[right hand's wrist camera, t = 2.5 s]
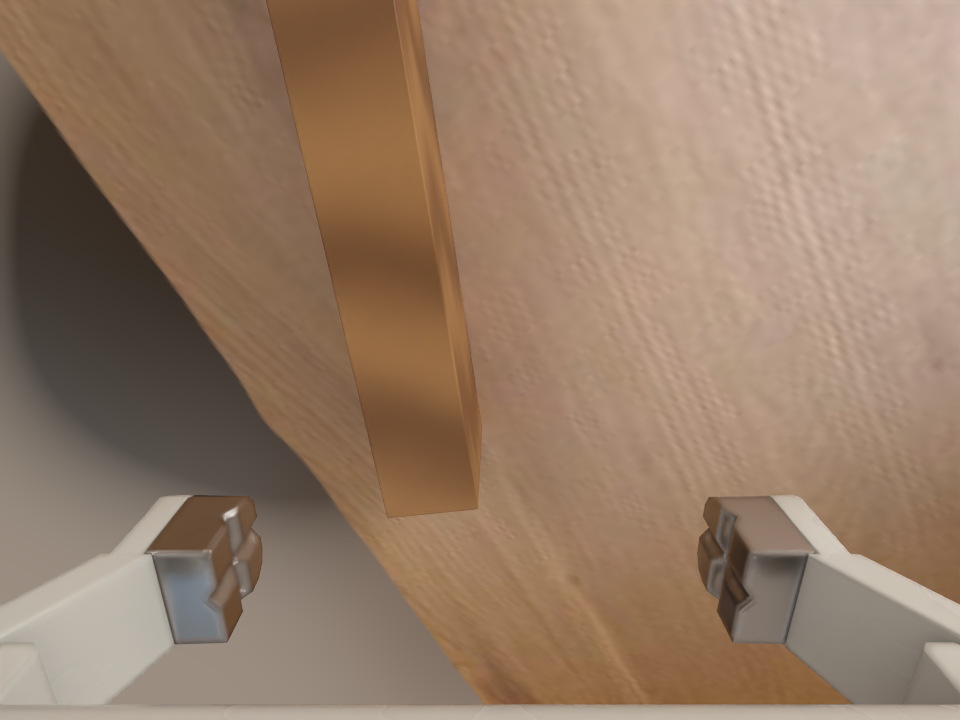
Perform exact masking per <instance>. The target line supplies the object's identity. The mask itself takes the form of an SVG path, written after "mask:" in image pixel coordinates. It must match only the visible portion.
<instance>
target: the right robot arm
mask: <svg viewBox="0 0 960 720" xmlns="http://www.w3.org/2000/svg"><path fill="white" fill-rule="evenodd" d="M256 517H257V514H256V509H255V504H254V501H253V500H252V499H251V498H250V497H249V496H208V495H194V496H192V495H166V496H163V497H160V498H159V499H158V500H157V501H156V502H155V503H154V504H153V506H152V507H151V508H150V509H149V510H148V511H147V512H146V513H145V515H144V516H143V517H142V518H141V519H140V520H139V521H138V522H137V524H136V525H135V526H134V527H133V528H132V529H131V530H130V532H129V533H128V534H127V535H126V536H125V537H124V538H123V539H122V541H121V542H120V543H119V544H118V545H117V546H116V547H115V548H114V550H113V551H112V552H111V553H110V554H100V555H98V556H96V557H94V558H92V559H90V560H88V561H86V562H84V563H82V564H80V565H78V566H76V567H74V568H72V569H70V570H68V571H66V572H64V573H62V574H60V575H58V576H56V577H54V578H52V579H50V580H48V581H46V582H44V583H42V584H40V585H38V586H36V587H34V588H32V589H30V590H28V591H26V592H24V593H22V594H20V595H18V596H16V597H14V598H12V599H10V600H8V601H6V602H5V603H2V604H1V605H0V720H960V605H959V604H957V603H955V602H953V601H951V600H949V599H947V598H945V597H943V596H941V595H939V594H937V593H935V592H934V591H932V590H930V589H928V588H926V587H924V586H922V585H920V584H918V583H916V582H914V581H912V580H910V579H908V578H906V577H904V576H902V575H900V574H898V573H896V572H894V571H892V570H890V569H888V568H886V567H884V566H882V565H880V564H878V563H876V562H874V561H872V560H870V559H868V558H866V557H864V556H862V555H860V554H850V553H849V552H848V551H847V550H846V549H845V547H844V546H843V545H842V544H841V543H840V542H839V541H838V539H837V538H836V537H835V536H834V535H833V534H832V533H831V532H830V530H829V529H828V528H827V527H826V526H825V525H824V524H823V523H822V521H821V520H820V519H819V518H818V517H817V516H816V515H815V513H814V512H813V511H812V510H811V509H810V508H809V507H808V506H807V504H806V503H805V502H804V501H803V500H802V499H801V498H800V497H798V496H795V495H770V496H749V497H709V498H708V500H707V502H706V504H705V508H704V513H703V517H704V519H705V521H706V523H707V525H708V526H709V528H708V529H707V530H706V531H705V532H704V533H703V534H702V535H701V536H700V537H699V544H698V552H697V554H698V566H699V571H700V575H701V578H702V581H703V583H704V585H705V588H706V590H707V592H709V593H710V594H712V595H713V596H715V597H716V598H717V599H719V604H718V609H717V612H718V614H719V616H720V618H721V620H722V622H723V624H724V626H725V628H726V630H727V632H728V634H729V636H730V638H731V640H732V642H733V643H758V644H785V647H786V648H787V649H788V650H789V651H791V652H792V653H793V654H794V655H795V656H797V657H798V658H799V659H800V660H801V661H802V662H804V663H805V664H806V665H807V666H808V667H810V668H811V669H812V670H813V671H814V672H816V673H817V674H818V675H819V676H820V677H821V678H823V679H824V680H825V681H826V682H827V683H829V684H830V685H831V686H832V687H833V688H834V689H836V690H837V691H838V692H839V693H840V694H842V695H843V696H844V697H845V698H846V699H847V700H849V701H850V702H851V703H852V704H831V705H627V704H505V705H107V704H108V703H109V702H110V701H111V700H113V699H114V698H115V697H116V696H117V695H119V694H120V693H121V692H122V691H123V690H124V689H126V688H127V687H128V686H129V685H130V684H132V683H133V682H134V681H135V680H136V679H138V678H139V677H140V676H141V675H142V674H143V673H145V672H146V671H147V670H148V669H149V668H151V667H152V666H153V665H154V664H155V663H156V662H158V661H159V660H160V659H161V658H162V657H164V656H165V655H166V654H167V653H168V652H170V651H171V650H172V649H173V648H174V647H175V645H174V644H200V643H227V642H228V640H229V638H230V636H231V634H232V632H233V630H234V628H235V626H236V624H237V622H238V620H239V618H240V616H241V614H242V612H243V609H242V604H241V599H243V598H244V597H245V596H247V595H248V594H250V593H251V592H252V591H253V590H254V587H255V585H256V583H257V581H258V579H259V575H260V570H261V565H262V543H261V537H260V536H259V535H258V534H257V533H256V532H255V531H254V530H253V529H252V528H251V526H252V525H253V523H254V521H255V519H256Z"/></svg>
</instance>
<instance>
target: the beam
mask: <svg viewBox="0 0 960 720" xmlns="http://www.w3.org/2000/svg"><path fill="white" fill-rule="evenodd" d="M266 2H267V6H268V10H269V15H270V19H271V23H272V28H273V32H274V36H275V40H276V45H277V49H278V53H279V57H280V62H281V66H282V70H283V74H284V79H285V83H286V87H287V91H288V96H289V100H290V104H291V109H292V113H293V117H294V121H295V126H296V130H297V134H298V138H299V143H300V147H301V151H302V155H303V160H304V164H305V168H306V172H307V177H308V181H309V185H310V190H311V194H312V198H313V202H314V207H315V211H316V215H317V219H318V224H319V228H320V232H321V236H322V241H323V245H324V249H325V253H326V258H327V262H328V266H329V271H330V275H331V279H332V283H333V288H334V292H335V296H336V300H337V305H338V309H339V313H340V317H341V322H342V326H343V330H344V334H345V339H346V343H347V347H348V352H349V356H350V360H351V364H352V369H353V373H354V377H355V381H356V386H357V390H358V394H359V398H360V403H361V407H362V411H363V415H364V420H365V424H366V428H367V433H368V437H369V441H370V445H371V450H372V454H373V458H374V462H375V467H376V471H377V475H378V479H379V484H380V488H381V492H382V496H383V501H384V505H385V509H386V514H387V517H388V518H393V517H403V516H413V515H423V514H433V513H443V512H453V511H464V510H474V509H478V500H479V479H480V459H481V438H482V425H481V418H480V412H479V405H478V399H477V392H476V386H475V379H474V372H473V366H472V359H471V353H470V346H469V340H468V333H467V327H466V320H465V313H464V307H463V300H462V294H461V287H460V281H459V274H458V268H457V261H456V255H455V248H454V241H453V235H452V228H451V222H450V215H449V209H448V202H447V196H446V189H445V183H444V176H443V169H442V163H441V156H440V150H439V143H438V137H437V130H436V124H435V117H434V111H433V104H432V97H431V91H430V84H429V78H428V71H427V65H426V58H425V52H424V45H423V38H422V32H421V25H420V19H419V12H418V6H417V0H266Z"/></svg>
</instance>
